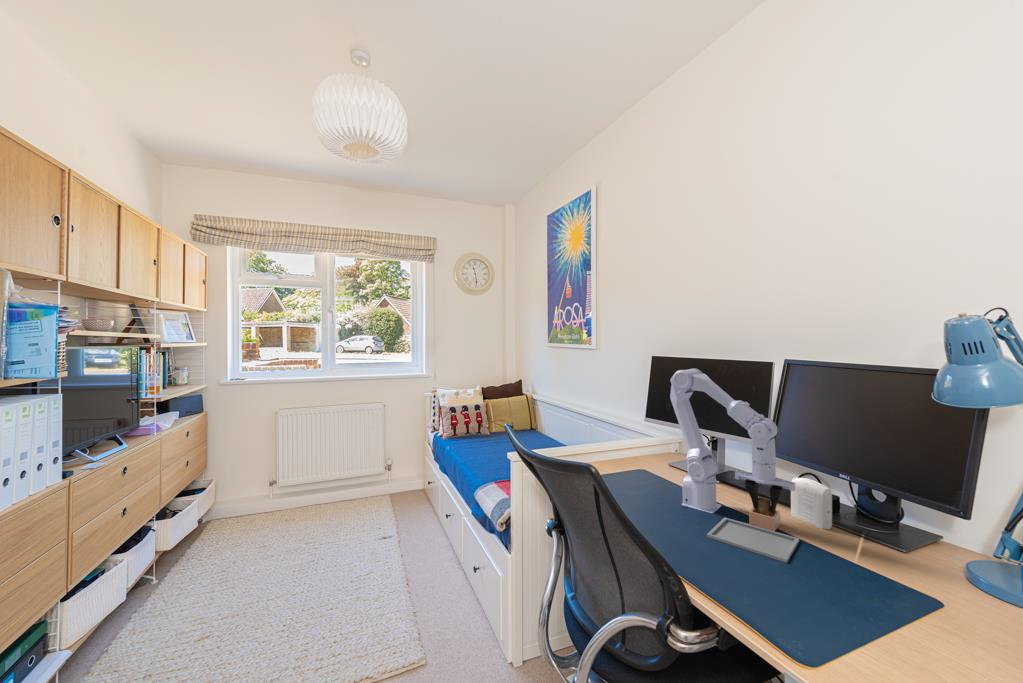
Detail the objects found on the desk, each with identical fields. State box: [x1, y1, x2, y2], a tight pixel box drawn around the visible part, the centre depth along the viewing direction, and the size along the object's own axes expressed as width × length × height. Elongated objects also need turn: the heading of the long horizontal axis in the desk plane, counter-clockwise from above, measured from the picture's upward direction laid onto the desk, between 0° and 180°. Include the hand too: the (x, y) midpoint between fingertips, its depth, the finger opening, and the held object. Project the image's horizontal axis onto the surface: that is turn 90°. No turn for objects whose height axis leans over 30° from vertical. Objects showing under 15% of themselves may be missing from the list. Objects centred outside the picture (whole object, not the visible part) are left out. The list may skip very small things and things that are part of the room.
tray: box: [706, 517, 800, 564], centre depth 105 cm, size 18×14×1 cm
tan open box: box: [748, 507, 781, 532], centre depth 113 cm, size 6×6×4 cm
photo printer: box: [790, 477, 833, 530], centre depth 114 cm, size 10×4×12 cm, turn 17°
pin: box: [758, 496, 771, 517], centre depth 113 cm, size 3×3×7 cm
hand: (764, 509), depth 113 cm, fingers open, 4 cm apart
